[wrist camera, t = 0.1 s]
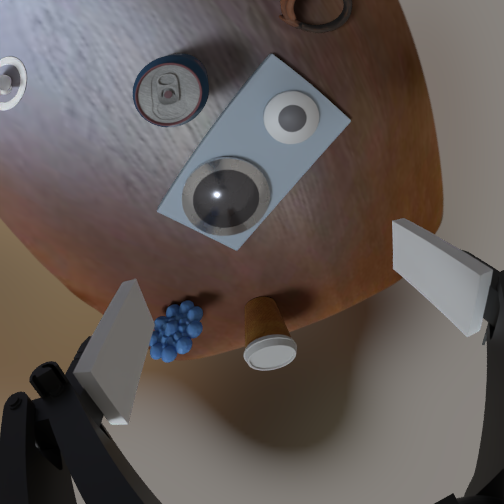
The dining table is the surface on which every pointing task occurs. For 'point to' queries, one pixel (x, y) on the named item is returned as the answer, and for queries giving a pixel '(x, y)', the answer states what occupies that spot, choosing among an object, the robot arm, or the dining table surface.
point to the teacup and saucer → (4, 82)
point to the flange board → (265, 137)
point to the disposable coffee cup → (266, 336)
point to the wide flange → (225, 196)
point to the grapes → (175, 331)
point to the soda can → (171, 90)
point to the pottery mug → (290, 18)
